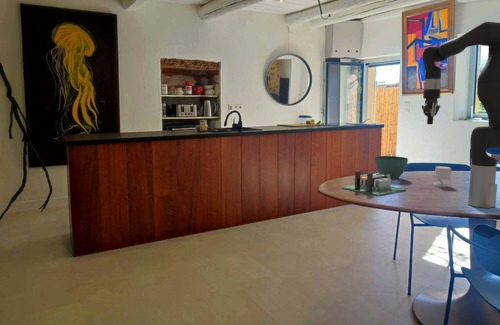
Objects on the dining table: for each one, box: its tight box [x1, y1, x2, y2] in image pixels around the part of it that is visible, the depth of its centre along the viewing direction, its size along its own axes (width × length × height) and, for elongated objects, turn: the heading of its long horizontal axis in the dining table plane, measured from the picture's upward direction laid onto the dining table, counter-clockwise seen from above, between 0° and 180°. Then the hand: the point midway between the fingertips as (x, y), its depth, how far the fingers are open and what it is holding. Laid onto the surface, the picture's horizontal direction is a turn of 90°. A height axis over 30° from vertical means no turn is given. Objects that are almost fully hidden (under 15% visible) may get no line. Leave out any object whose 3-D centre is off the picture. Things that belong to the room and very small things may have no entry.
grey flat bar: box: [360, 174, 386, 180], centre depth 198 cm, size 5×1×16 cm
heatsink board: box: [341, 170, 407, 197], centre depth 198 cm, size 22×22×10 cm
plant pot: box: [374, 155, 409, 180], centre depth 231 cm, size 18×18×12 cm
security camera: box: [432, 166, 452, 188], centre depth 208 cm, size 6×7×10 cm
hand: (429, 124), depth 195 cm, fingers closed
